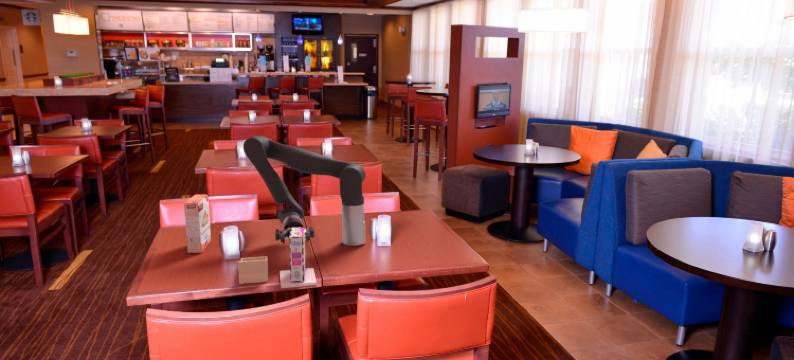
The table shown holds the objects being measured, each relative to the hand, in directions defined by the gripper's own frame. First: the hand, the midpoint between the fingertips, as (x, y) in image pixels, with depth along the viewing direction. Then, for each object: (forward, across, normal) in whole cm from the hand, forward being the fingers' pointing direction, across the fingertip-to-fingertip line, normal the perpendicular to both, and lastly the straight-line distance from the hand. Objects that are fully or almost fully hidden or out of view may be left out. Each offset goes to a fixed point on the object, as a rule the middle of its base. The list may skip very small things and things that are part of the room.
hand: (295, 240), depth 194 cm
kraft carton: (-1, -15, +11) cm, 19 cm away
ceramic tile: (+9, 0, +11) cm, 14 cm away
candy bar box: (+9, 0, +11) cm, 14 cm away
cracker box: (-32, -37, +12) cm, 51 cm away
